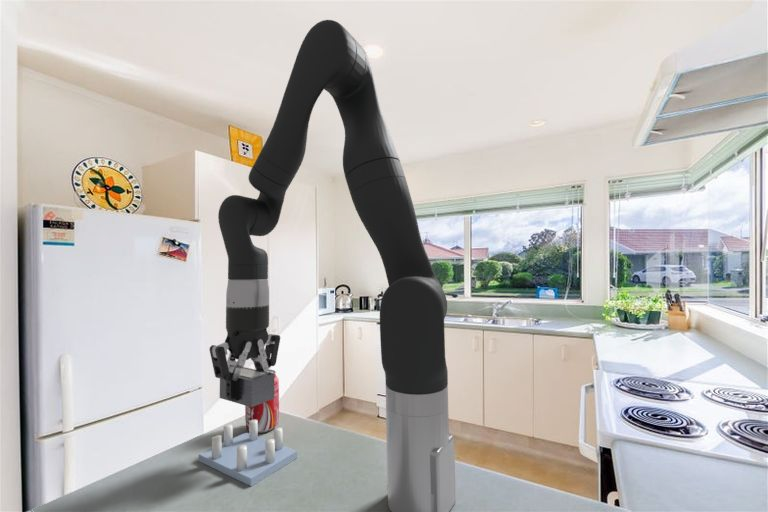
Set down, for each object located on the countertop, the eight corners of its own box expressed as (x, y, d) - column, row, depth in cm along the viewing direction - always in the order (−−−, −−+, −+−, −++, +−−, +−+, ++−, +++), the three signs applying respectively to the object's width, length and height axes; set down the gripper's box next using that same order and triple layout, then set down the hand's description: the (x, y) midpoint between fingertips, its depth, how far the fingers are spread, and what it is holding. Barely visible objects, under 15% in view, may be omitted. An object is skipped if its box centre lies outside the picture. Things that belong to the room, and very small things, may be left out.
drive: (274, 398, 65) (274, 372, 65) (251, 407, 60) (251, 380, 60) (242, 389, 69) (243, 366, 69) (219, 397, 65) (219, 372, 65)
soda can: (238, 430, 76) (238, 374, 77) (265, 418, 82) (265, 367, 83) (258, 438, 72) (258, 379, 73) (285, 425, 78) (285, 371, 79)
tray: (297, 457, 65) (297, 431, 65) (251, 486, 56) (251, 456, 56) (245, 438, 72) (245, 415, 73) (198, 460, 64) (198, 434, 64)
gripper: (225, 308, 57) (223, 413, 57) (291, 301, 70) (290, 388, 69) (199, 306, 61) (197, 404, 61) (265, 300, 74) (265, 381, 73)
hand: (247, 395), depth 65 cm, fingers closed on drive, 5 cm apart
